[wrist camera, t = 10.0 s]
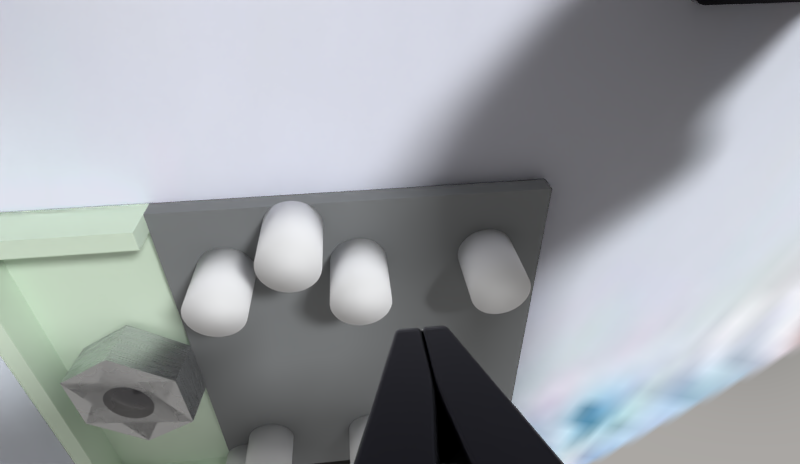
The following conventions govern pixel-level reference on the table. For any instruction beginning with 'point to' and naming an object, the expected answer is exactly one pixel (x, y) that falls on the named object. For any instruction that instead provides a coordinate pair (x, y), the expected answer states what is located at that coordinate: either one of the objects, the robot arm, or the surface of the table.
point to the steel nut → (136, 383)
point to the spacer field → (267, 306)
